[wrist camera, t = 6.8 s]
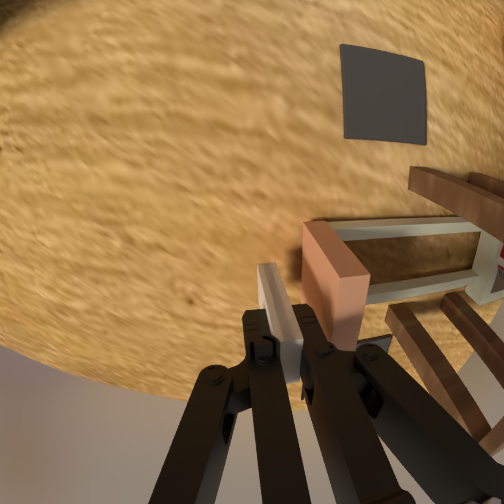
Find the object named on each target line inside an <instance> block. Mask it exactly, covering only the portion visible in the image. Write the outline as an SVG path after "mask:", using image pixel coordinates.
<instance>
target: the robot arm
mask: <svg viewBox="0 0 504 504" xmlns="http://www.w3.org/2000/svg"><path fill="white" fill-rule="evenodd" d="M257 272H258V294H259V306H260V309H256V310H246V311H245V313H244V315H243V317H242V321H243V332H244V343H245V351H246V356H245V359H244V360H243V361H242V362H241V363H240V364H239V365H237V366H234V367H232V368H229V369H228V368H227V367H225V366H222V365H211V366H208V367H206V368H204V369H203V370H202V371H201V372H200V374H199V375H198V378H197V380H196V383H195V385H194V388H193V391H192V393H191V396H190V398H189V401H188V403H187V406H186V408H185V411H184V414H183V416H182V418H181V421H180V423H179V426H178V429H177V431H176V434H175V436H174V439H173V441H172V444H171V447H170V449H169V452H168V454H167V457H166V459H165V462H164V465H163V467H162V469H161V472H160V475H159V477H158V480H157V482H156V485H155V488H154V490H153V493H152V495H151V498H150V501H149V503H148V504H214V503H215V499H216V496H217V492H218V489H219V485H220V481H221V477H222V473H223V470H224V466H225V462H226V458H227V454H228V450H229V446H230V442H231V439H232V435H233V431H234V426H235V422H236V418H237V414H238V413H239V412H242V411H244V410H247V409H249V408H252V413H253V423H254V433H255V442H256V451H257V461H258V470H259V478H260V487H261V495H262V504H311V500H310V495H309V490H308V486H307V481H306V476H305V471H304V466H303V462H302V457H301V452H300V448H299V443H298V438H297V434H296V429H295V424H294V419H293V415H292V410H291V405H290V401H289V396H288V392H287V387H286V383H293V382H299V380H300V376H301V379H302V383H303V385H302V393H301V400H304V397H305V401H306V404H307V407H308V411H309V414H310V417H311V420H312V423H313V427H314V430H315V433H316V437H317V440H318V443H319V447H320V450H321V453H322V457H323V460H324V463H325V467H326V470H327V473H328V476H329V480H330V483H331V487H332V490H333V493H334V497H335V500H336V503H337V504H416V502H415V500H414V498H413V497H412V495H411V494H410V493H409V492H408V491H405V490H403V489H401V487H400V486H399V484H398V482H397V479H396V477H395V474H394V472H393V470H392V467H391V465H390V463H389V460H388V458H387V456H386V454H385V451H384V449H383V447H382V444H381V442H380V440H379V438H378V436H379V437H380V438H381V439H382V441H383V442H384V443H385V444H386V445H387V447H388V448H389V449H390V450H391V452H392V453H393V454H394V455H395V456H396V458H397V459H398V460H399V461H400V463H401V464H402V465H403V466H404V467H405V469H406V470H407V471H408V472H409V473H410V474H411V476H412V477H413V478H414V479H415V481H416V482H417V483H418V484H419V485H420V487H421V488H422V489H423V490H424V491H425V493H426V494H427V495H428V496H429V497H430V499H431V500H432V501H433V502H434V503H435V504H504V466H503V465H501V464H499V463H497V462H496V461H495V460H494V459H493V458H492V457H491V456H490V455H489V454H488V453H487V452H486V451H485V450H484V449H483V448H482V447H481V446H480V445H479V444H478V443H477V442H476V441H475V440H474V439H473V437H472V436H471V435H470V434H469V433H468V432H467V431H466V430H465V429H464V428H463V427H462V426H461V425H460V424H459V423H458V422H457V421H456V420H455V419H454V418H453V417H452V416H451V415H450V414H449V413H448V412H447V411H446V410H445V409H444V408H443V407H442V406H441V405H440V404H439V403H438V402H437V401H436V400H435V399H434V398H433V397H432V396H431V395H430V394H429V393H428V392H427V391H426V390H425V389H424V388H423V387H422V386H421V385H420V384H419V383H418V382H416V381H415V380H414V379H413V378H412V377H411V376H410V375H409V374H408V373H407V372H406V371H405V370H404V369H403V368H402V367H401V366H400V365H399V364H398V363H397V362H396V361H395V360H394V359H393V358H392V357H391V356H390V355H389V354H388V353H387V352H386V351H385V350H383V349H382V348H381V347H380V346H378V345H376V344H373V343H365V344H361V345H360V346H359V347H357V349H356V351H344V350H339V349H337V348H336V346H335V345H334V344H333V343H331V342H329V341H327V338H326V336H325V334H324V332H323V330H322V327H321V325H320V323H319V321H318V319H317V317H316V314H315V312H314V310H313V308H311V307H310V306H309V305H308V304H307V303H305V304H297V305H291V303H290V300H289V298H288V295H287V292H286V289H285V287H284V284H283V281H282V279H281V276H280V273H279V270H278V268H277V265H276V262H275V263H263V264H257ZM377 434H378V435H377Z"/></svg>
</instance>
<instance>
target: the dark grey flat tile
mask: <svg viewBox="0 0 504 504" xmlns="http://www.w3.org/2000/svg"><path fill="white" fill-rule="evenodd" d="M390 341H391V335H390V334H389V335H384V336H379V337H374V338H369V339H364V340H359V341H357V344H356V349H357V347H359V346H360V345H361V344H365V343H373V344H376V345H378V346H380V347H381V348H382V349H383V350H385V351H386V352H387V350H388V347H389V344H390ZM356 349H355V351H356Z"/></svg>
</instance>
